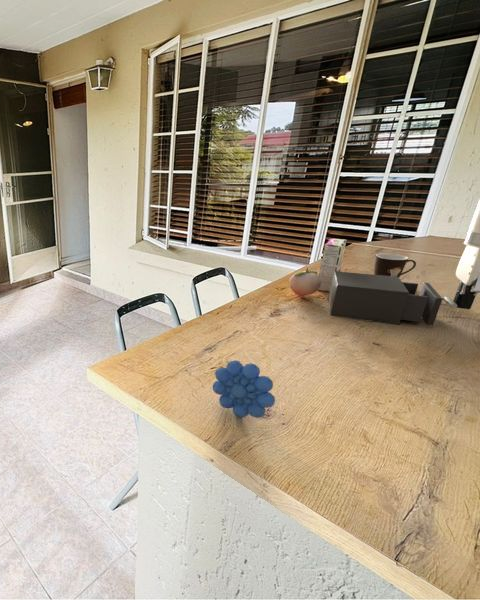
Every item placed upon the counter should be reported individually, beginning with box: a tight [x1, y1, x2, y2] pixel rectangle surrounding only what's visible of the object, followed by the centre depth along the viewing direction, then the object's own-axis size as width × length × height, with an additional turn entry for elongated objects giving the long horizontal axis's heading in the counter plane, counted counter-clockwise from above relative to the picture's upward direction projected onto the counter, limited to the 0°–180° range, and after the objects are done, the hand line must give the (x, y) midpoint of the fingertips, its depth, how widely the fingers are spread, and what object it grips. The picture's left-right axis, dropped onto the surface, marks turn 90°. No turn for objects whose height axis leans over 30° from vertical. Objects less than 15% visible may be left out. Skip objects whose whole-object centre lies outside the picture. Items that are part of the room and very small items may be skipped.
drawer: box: [400, 281, 458, 327], centre depth 99 cm, size 19×13×8 cm
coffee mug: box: [373, 253, 417, 278], centre depth 122 cm, size 12×9×10 cm
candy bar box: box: [317, 238, 348, 293], centre depth 122 cm, size 11×5×16 cm, turn 137°
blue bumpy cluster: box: [212, 359, 276, 419], centre depth 64 cm, size 12×7×12 cm, turn 35°
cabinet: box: [328, 271, 409, 326], centre depth 104 cm, size 16×15×10 cm
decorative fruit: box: [288, 268, 321, 298], centre depth 116 cm, size 9×8×10 cm
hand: (460, 307), depth 93 cm, fingers closed
